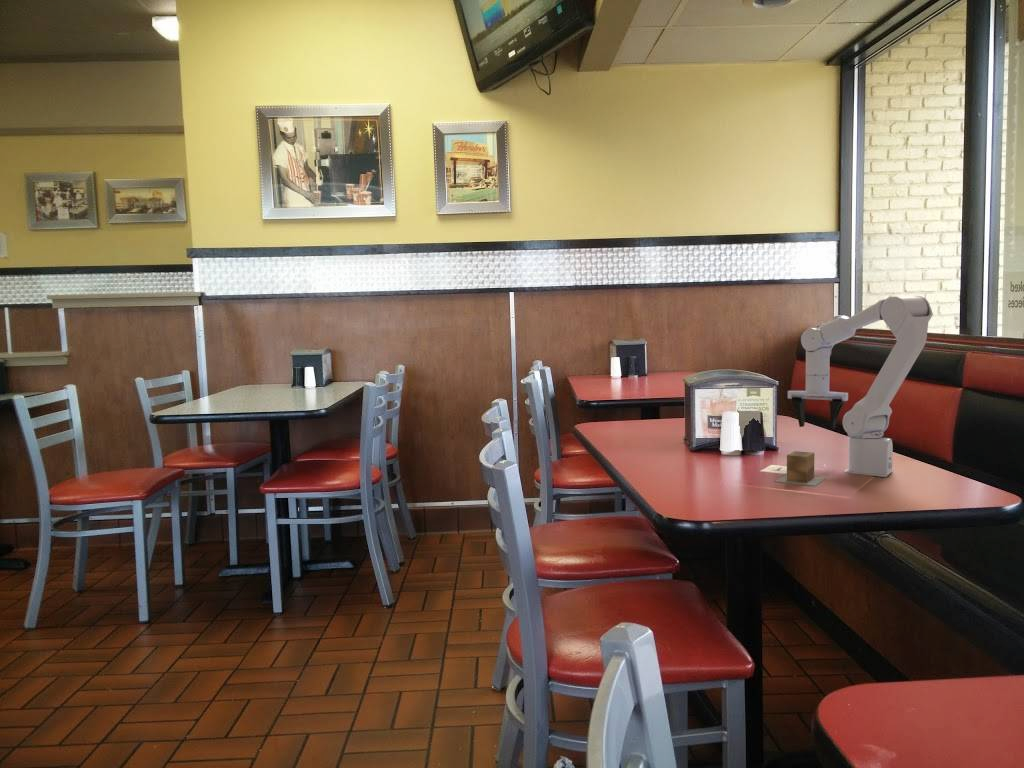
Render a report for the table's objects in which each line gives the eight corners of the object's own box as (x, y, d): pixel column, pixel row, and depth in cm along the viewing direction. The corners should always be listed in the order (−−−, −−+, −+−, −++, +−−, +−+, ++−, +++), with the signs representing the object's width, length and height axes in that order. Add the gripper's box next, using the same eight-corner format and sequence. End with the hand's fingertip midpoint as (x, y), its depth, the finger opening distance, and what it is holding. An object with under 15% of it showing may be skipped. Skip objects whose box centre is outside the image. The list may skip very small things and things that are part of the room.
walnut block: (814, 478, 180) (814, 452, 179) (806, 482, 175) (806, 456, 175) (794, 475, 183) (794, 451, 182) (786, 480, 178) (786, 455, 177)
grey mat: (825, 480, 180) (825, 477, 180) (814, 488, 173) (814, 485, 173) (786, 476, 185) (786, 473, 185) (774, 483, 178) (774, 480, 178)
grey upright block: (757, 449, 221) (757, 408, 219) (760, 452, 216) (761, 410, 215) (736, 450, 221) (735, 408, 220) (738, 452, 217) (738, 410, 216)
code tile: (807, 469, 192) (807, 468, 192) (796, 476, 185) (796, 474, 185) (771, 466, 197) (771, 464, 197) (759, 472, 190) (759, 471, 190)
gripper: (784, 375, 199) (783, 427, 200) (843, 377, 190) (842, 431, 191) (792, 373, 204) (792, 423, 206) (850, 374, 196) (849, 427, 197)
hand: (817, 427), depth 199 cm, fingers open, 7 cm apart
